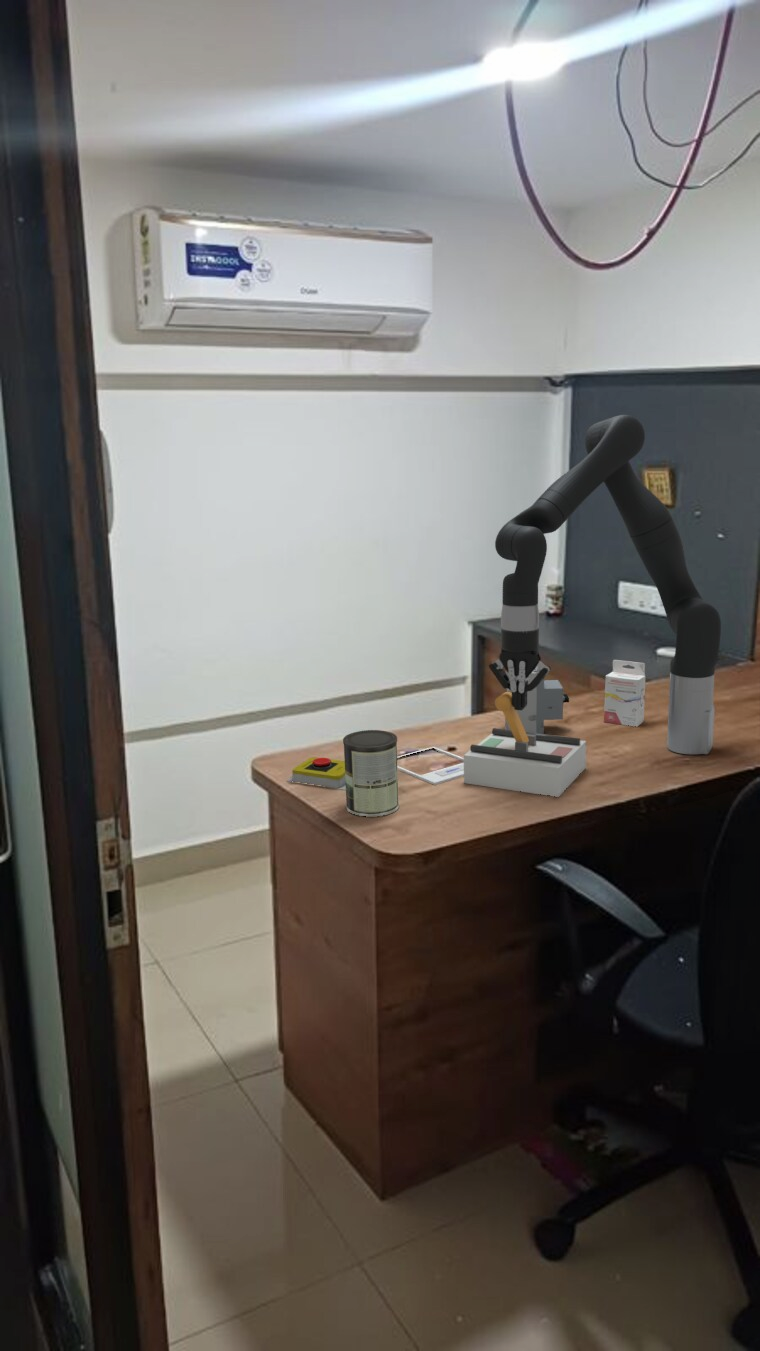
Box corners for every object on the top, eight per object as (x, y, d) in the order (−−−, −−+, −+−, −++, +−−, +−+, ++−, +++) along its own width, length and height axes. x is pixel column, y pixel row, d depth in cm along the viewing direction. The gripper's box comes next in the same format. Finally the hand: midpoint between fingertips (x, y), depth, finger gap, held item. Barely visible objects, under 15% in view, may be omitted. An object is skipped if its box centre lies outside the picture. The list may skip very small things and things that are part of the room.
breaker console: (585, 768, 210) (586, 732, 208) (558, 797, 194) (558, 758, 192) (496, 756, 219) (496, 721, 217) (463, 783, 204) (463, 745, 202)
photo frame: (434, 781, 203) (381, 760, 217) (434, 787, 203) (381, 764, 217) (487, 765, 211) (433, 745, 225) (487, 770, 212) (433, 750, 226)
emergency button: (305, 750, 215) (368, 758, 209) (306, 769, 216) (368, 778, 210) (283, 763, 207) (347, 772, 201) (284, 783, 208) (348, 793, 202)
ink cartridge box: (603, 722, 240) (604, 663, 237) (610, 717, 244) (611, 658, 241) (637, 727, 236) (639, 667, 232) (644, 721, 240) (646, 662, 236)
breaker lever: (533, 738, 206) (512, 689, 206) (527, 743, 203) (505, 694, 202) (520, 743, 208) (498, 694, 207) (514, 748, 204) (492, 699, 204)
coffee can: (334, 808, 192) (331, 739, 189) (372, 793, 200) (369, 726, 196) (373, 822, 185) (370, 750, 182) (410, 806, 193) (408, 736, 189)
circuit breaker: (569, 734, 232) (570, 672, 228) (508, 736, 233) (508, 673, 229) (564, 725, 239) (565, 664, 236) (505, 726, 240) (505, 666, 236)
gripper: (557, 624, 199) (556, 708, 204) (495, 620, 205) (495, 701, 210) (545, 631, 193) (544, 717, 197) (482, 627, 199) (482, 710, 203)
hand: (519, 709), depth 203 cm, fingers closed
